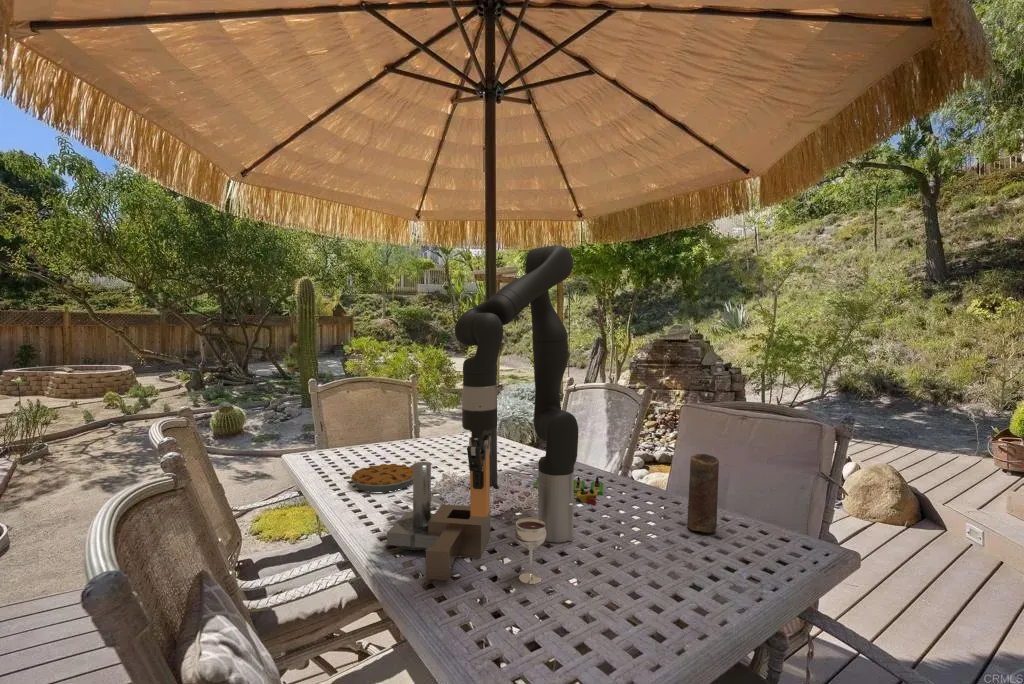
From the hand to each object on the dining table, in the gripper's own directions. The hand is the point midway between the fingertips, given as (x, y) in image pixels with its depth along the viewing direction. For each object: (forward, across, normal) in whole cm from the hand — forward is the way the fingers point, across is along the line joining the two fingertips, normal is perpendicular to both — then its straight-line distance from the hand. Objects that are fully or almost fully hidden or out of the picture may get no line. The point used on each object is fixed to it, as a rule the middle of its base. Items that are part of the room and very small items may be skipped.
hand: (480, 484), depth 103 cm
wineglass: (+21, +2, -11) cm, 23 cm away
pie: (+21, +55, +46) cm, 75 cm away
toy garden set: (+22, +57, -17) cm, 64 cm away
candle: (+22, +34, -54) cm, 67 cm away
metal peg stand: (+20, +14, +18) cm, 31 cm away
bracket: (+21, +7, +8) cm, 23 cm away
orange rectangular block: (+6, 0, 0) cm, 6 cm away
